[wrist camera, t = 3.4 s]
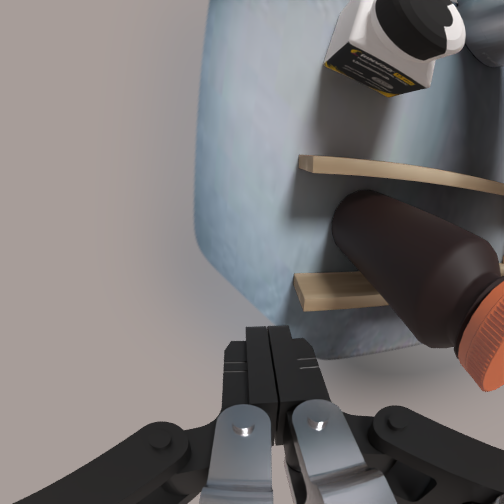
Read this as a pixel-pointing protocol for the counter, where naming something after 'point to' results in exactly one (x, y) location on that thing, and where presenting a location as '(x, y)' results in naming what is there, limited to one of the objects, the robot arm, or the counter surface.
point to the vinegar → (429, 278)
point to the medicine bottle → (394, 42)
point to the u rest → (354, 283)
